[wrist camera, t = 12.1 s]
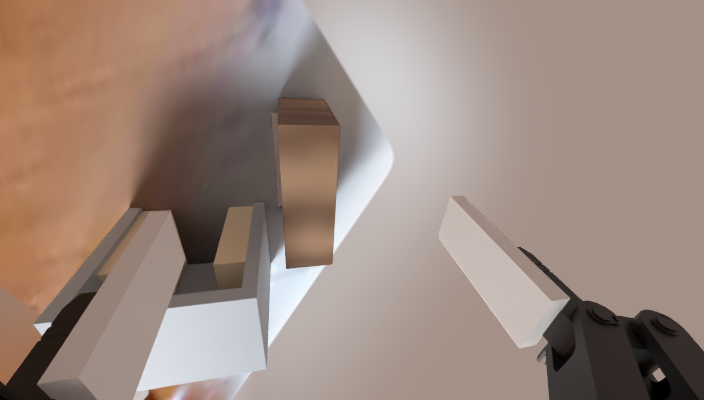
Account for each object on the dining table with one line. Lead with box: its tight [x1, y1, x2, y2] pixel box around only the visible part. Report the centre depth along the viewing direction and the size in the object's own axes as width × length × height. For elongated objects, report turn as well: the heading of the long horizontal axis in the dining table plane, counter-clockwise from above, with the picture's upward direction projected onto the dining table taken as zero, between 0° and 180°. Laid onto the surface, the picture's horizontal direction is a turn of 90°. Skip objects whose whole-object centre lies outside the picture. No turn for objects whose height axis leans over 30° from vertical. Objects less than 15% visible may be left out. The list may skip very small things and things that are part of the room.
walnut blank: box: [278, 98, 340, 269], centre depth 28 cm, size 14×4×9 cm, turn 175°
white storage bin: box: [33, 202, 271, 392], centre depth 28 cm, size 10×14×14 cm
